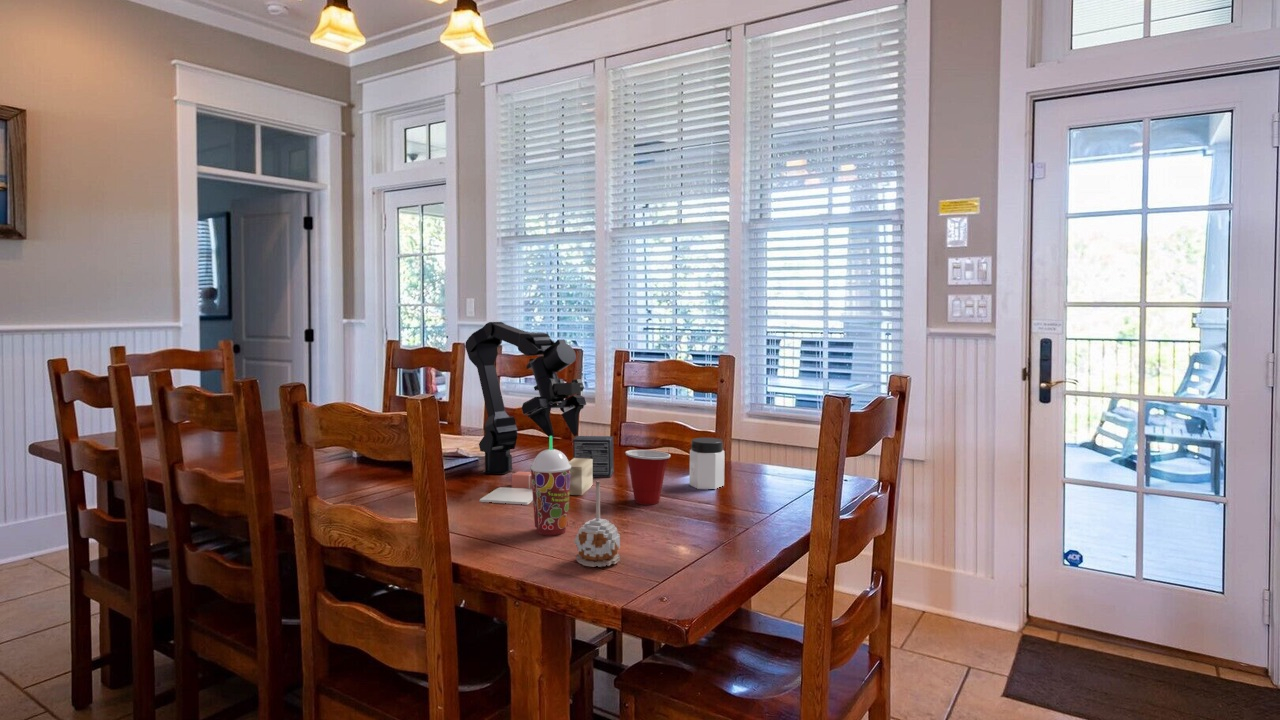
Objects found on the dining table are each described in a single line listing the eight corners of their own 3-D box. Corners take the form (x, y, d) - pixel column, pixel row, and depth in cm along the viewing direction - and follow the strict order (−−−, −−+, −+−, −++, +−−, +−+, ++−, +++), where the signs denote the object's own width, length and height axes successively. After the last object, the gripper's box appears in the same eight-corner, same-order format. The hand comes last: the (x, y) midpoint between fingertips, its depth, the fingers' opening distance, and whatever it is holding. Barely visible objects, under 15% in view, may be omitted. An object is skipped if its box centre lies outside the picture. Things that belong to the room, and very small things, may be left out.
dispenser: (539, 492, 181) (539, 465, 181) (552, 483, 191) (552, 456, 190) (581, 495, 179) (581, 467, 178) (592, 485, 189) (592, 458, 188)
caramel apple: (568, 565, 131) (568, 483, 130) (589, 552, 138) (588, 474, 137) (607, 572, 128) (607, 488, 127) (626, 558, 135) (626, 478, 134)
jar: (684, 483, 191) (685, 438, 190) (712, 480, 194) (712, 436, 194) (700, 491, 183) (701, 444, 182) (728, 488, 186) (729, 442, 185)
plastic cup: (679, 503, 172) (679, 453, 171) (640, 510, 166) (640, 458, 165) (655, 493, 181) (655, 445, 180) (617, 499, 175) (617, 450, 175)
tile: (479, 501, 173) (479, 499, 173) (499, 489, 184) (499, 487, 184) (527, 504, 170) (527, 502, 170) (544, 492, 182) (544, 489, 182)
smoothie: (554, 540, 145) (554, 441, 143) (522, 533, 149) (521, 437, 147) (579, 529, 152) (579, 434, 150) (548, 523, 156) (547, 431, 155)
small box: (614, 472, 204) (614, 435, 203) (611, 477, 197) (611, 439, 197) (577, 471, 205) (576, 434, 204) (572, 476, 198) (572, 438, 198)
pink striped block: (511, 488, 186) (511, 474, 186) (517, 484, 190) (517, 471, 190) (564, 491, 183) (564, 477, 183) (569, 487, 187) (569, 473, 187)
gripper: (544, 366, 174) (563, 427, 171) (592, 367, 190) (610, 423, 186) (512, 383, 180) (530, 443, 176) (561, 383, 196) (578, 438, 192)
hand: (564, 436), depth 183 cm, fingers open, 9 cm apart
